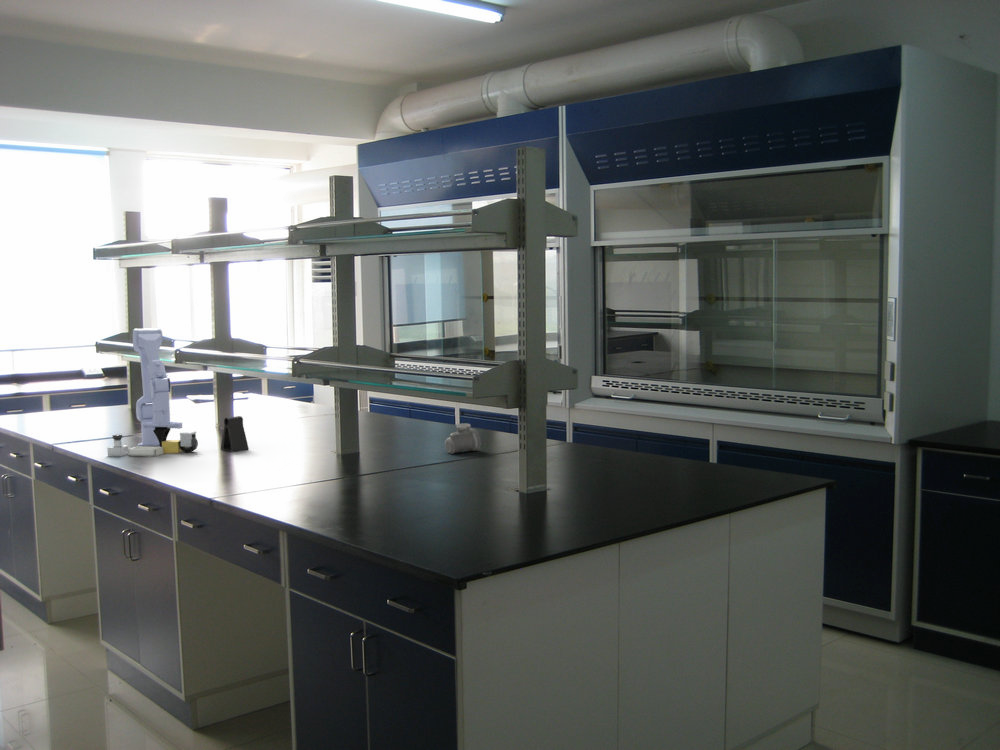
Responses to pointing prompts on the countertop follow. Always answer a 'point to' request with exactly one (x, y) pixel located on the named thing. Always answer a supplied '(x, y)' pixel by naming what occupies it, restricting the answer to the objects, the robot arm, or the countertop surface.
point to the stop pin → (117, 440)
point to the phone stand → (234, 435)
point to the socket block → (118, 450)
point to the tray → (145, 451)
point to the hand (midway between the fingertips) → (162, 447)
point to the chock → (171, 446)
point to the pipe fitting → (463, 439)
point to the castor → (188, 441)
